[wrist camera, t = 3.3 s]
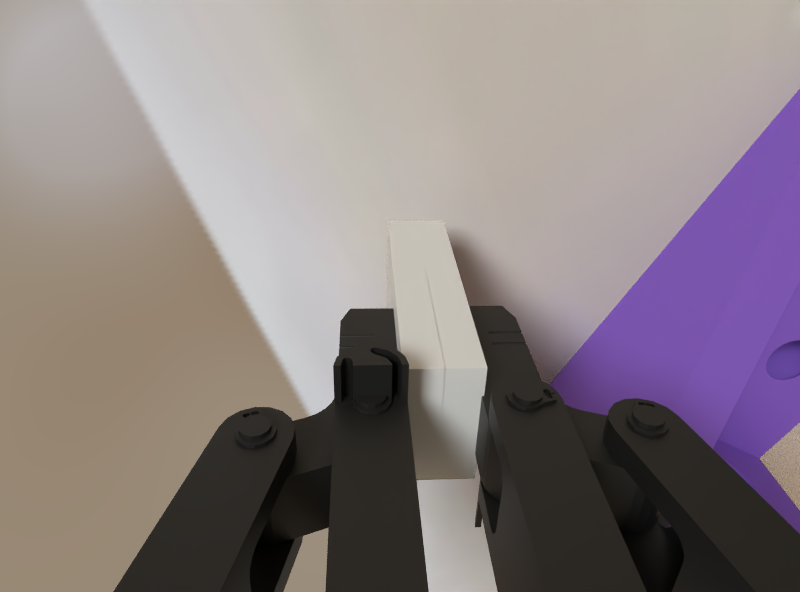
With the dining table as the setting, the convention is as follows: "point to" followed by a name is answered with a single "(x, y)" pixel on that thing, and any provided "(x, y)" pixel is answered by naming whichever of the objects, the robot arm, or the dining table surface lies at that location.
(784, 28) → the dining table surface
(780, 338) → the bracket
